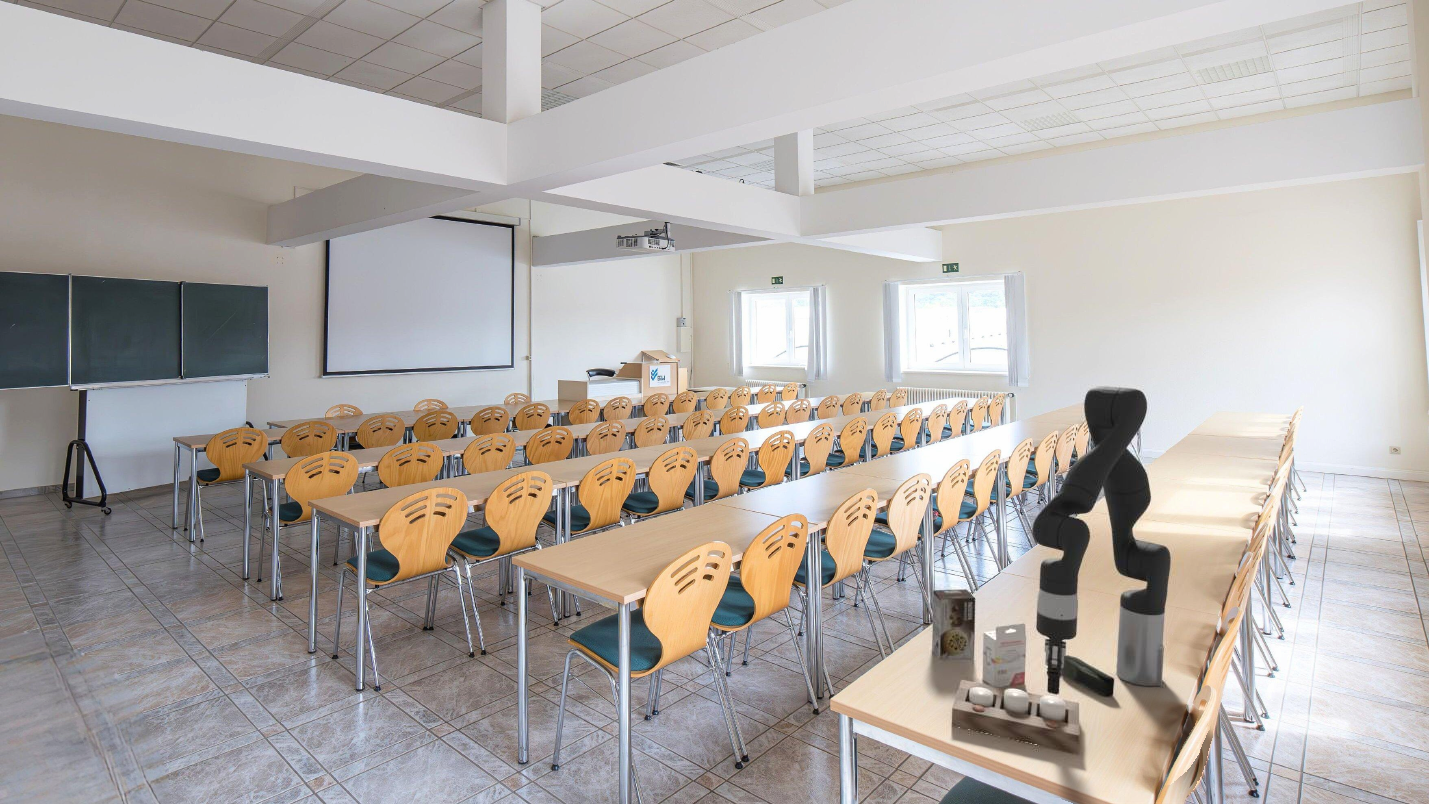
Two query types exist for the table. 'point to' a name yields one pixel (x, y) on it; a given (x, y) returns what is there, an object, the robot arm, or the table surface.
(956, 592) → the coffee box
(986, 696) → the button outer
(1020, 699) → the button middle
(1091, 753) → the table surface
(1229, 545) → the table surface
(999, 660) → the ink cartridge box
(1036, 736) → the button board
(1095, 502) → the robot arm
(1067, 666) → the dark green stapler
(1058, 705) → the button inner
